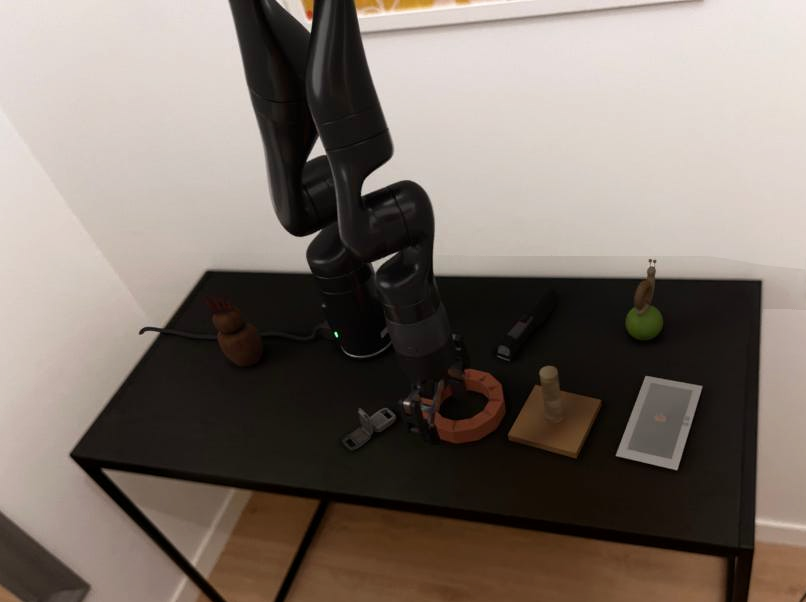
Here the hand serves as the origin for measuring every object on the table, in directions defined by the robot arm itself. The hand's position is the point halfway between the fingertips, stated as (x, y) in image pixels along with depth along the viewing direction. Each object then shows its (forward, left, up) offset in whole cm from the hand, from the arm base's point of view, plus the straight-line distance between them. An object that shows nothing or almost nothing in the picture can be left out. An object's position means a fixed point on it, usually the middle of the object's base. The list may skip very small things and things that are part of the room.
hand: (447, 419), depth 99 cm
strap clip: (-13, -3, -4) cm, 13 cm away
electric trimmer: (+1, +24, -4) cm, 24 cm away
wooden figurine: (-43, +4, -4) cm, 43 cm away
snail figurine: (+19, +28, -4) cm, 34 cm away
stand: (+13, +7, -4) cm, 15 cm away
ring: (-1, +5, -4) cm, 6 cm away
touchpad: (+27, +11, -4) cm, 29 cm away
